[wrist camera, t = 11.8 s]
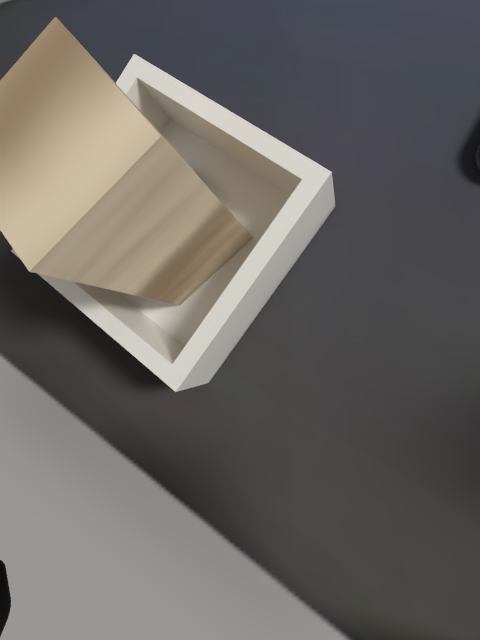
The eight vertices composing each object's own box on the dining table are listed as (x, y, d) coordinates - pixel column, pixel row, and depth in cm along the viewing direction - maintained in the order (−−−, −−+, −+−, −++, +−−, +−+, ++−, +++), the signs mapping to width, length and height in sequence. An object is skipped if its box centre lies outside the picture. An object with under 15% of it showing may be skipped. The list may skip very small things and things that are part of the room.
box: (335, 206, 19) (331, 172, 15) (208, 382, 20) (175, 391, 17) (172, 105, 22) (134, 53, 18) (67, 266, 23) (11, 251, 19)
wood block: (253, 237, 20) (160, 136, 10) (179, 305, 20) (29, 271, 11) (192, 168, 21) (55, 16, 11) (124, 235, 22) (-58, 148, 12)
